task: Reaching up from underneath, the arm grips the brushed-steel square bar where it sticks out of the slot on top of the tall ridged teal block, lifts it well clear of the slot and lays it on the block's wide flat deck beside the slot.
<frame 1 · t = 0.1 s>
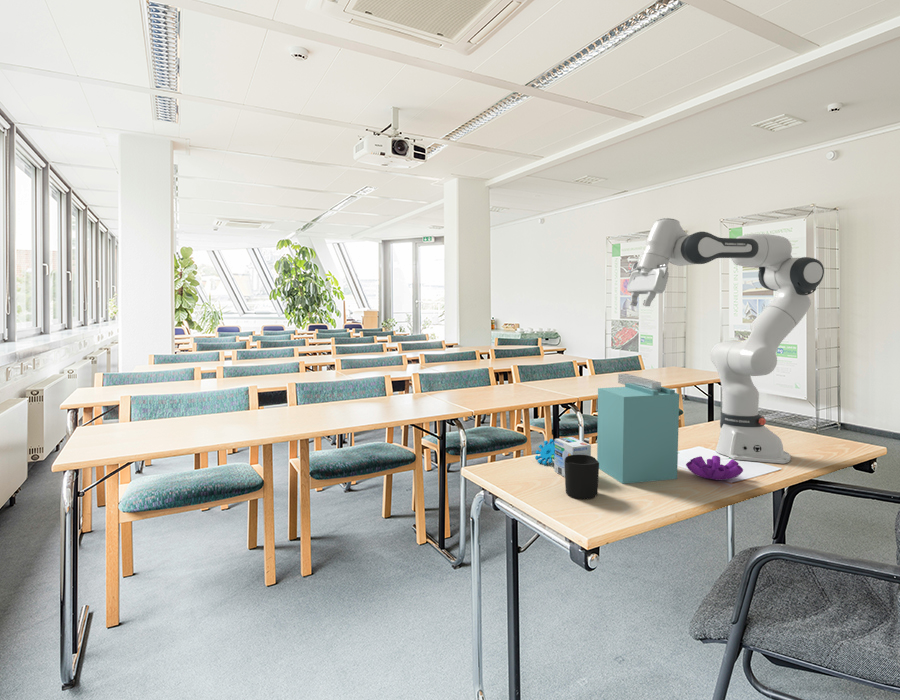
hand: (639, 305, 176), 52 cm above the table, fingers open, 8 cm apart
gear: (549, 463, 177), on the table
pen holder: (581, 494, 148), on the table
pipe connector assembly: (715, 479, 159), on the table
light bulb box: (572, 475, 164), on the table
ridged teal block: (647, 471, 166), on the table
steel bar: (638, 387, 170), point 26 cm above the table, touching ridged teal block
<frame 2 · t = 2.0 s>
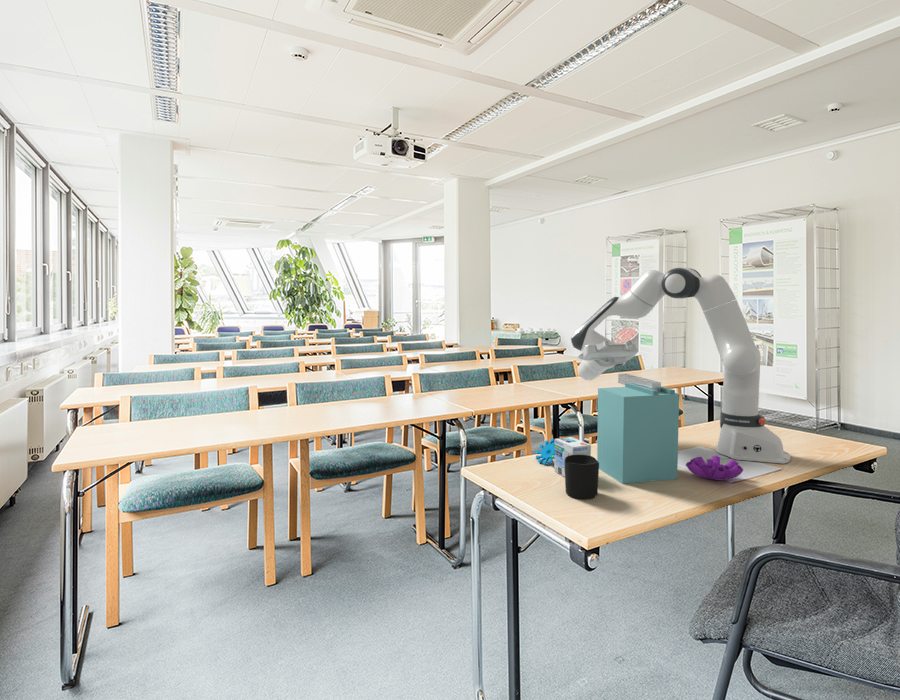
hand: (618, 342, 187), 39 cm above the table, fingers open, 8 cm apart
nothing on the table moved.
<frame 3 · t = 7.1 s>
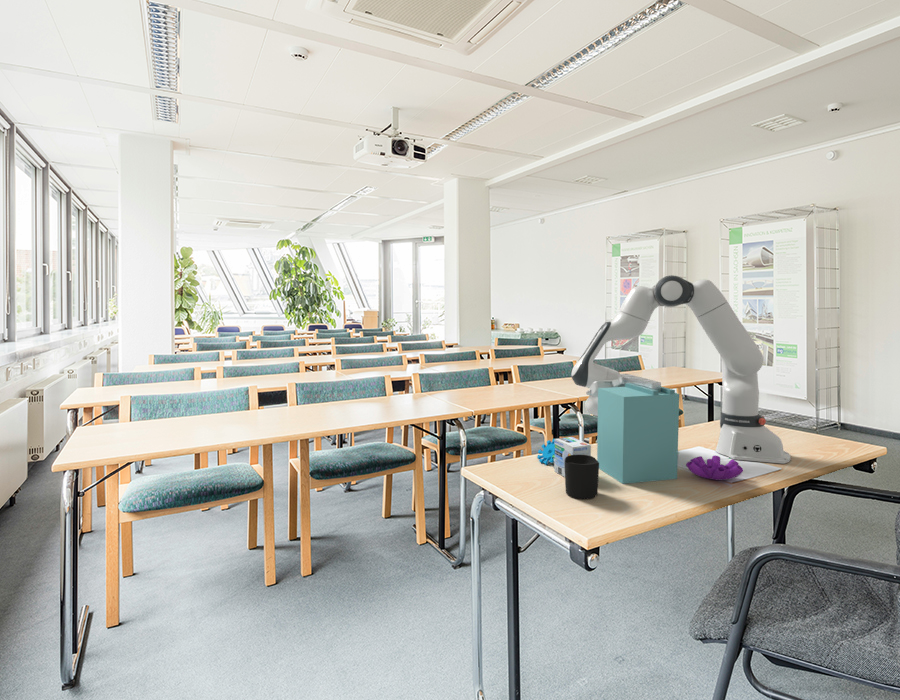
hand: (629, 378, 174), 28 cm above the table, fingers closed on steel bar, 3 cm apart
steel bar: (638, 387, 170), point 26 cm above the table, touching gripper, ridged teal block
everything else where it was.
when the fingers open (30 cm above the table, at t = 11.8 s): steel bar drops 2 cm, resting on ridged teal block.
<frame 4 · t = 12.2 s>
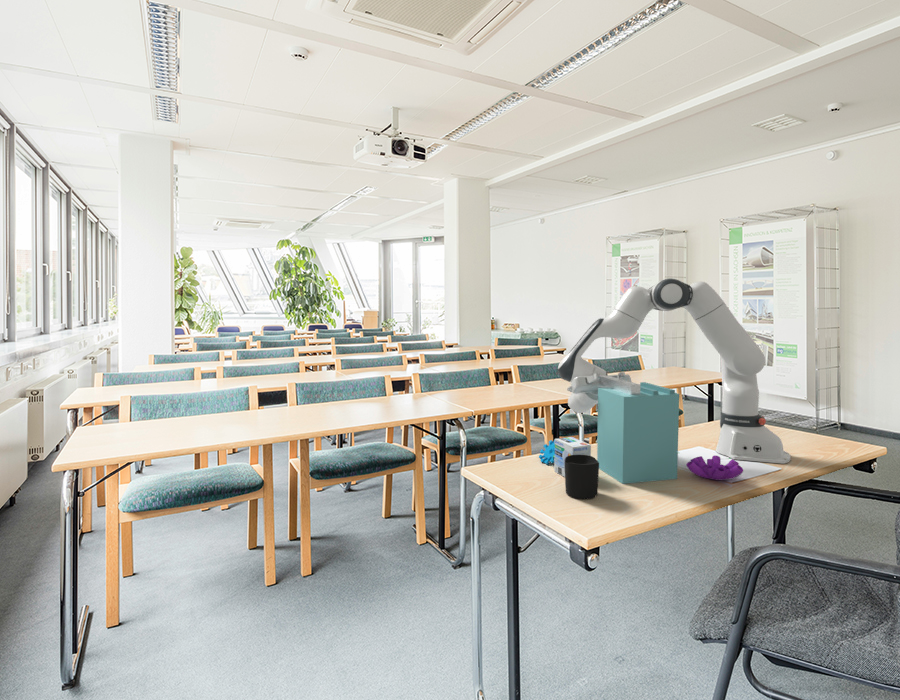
hand: (610, 374, 171), 30 cm above the table, fingers open, 7 cm apart
steel bar: (618, 389, 166), point 26 cm above the table, touching ridged teal block
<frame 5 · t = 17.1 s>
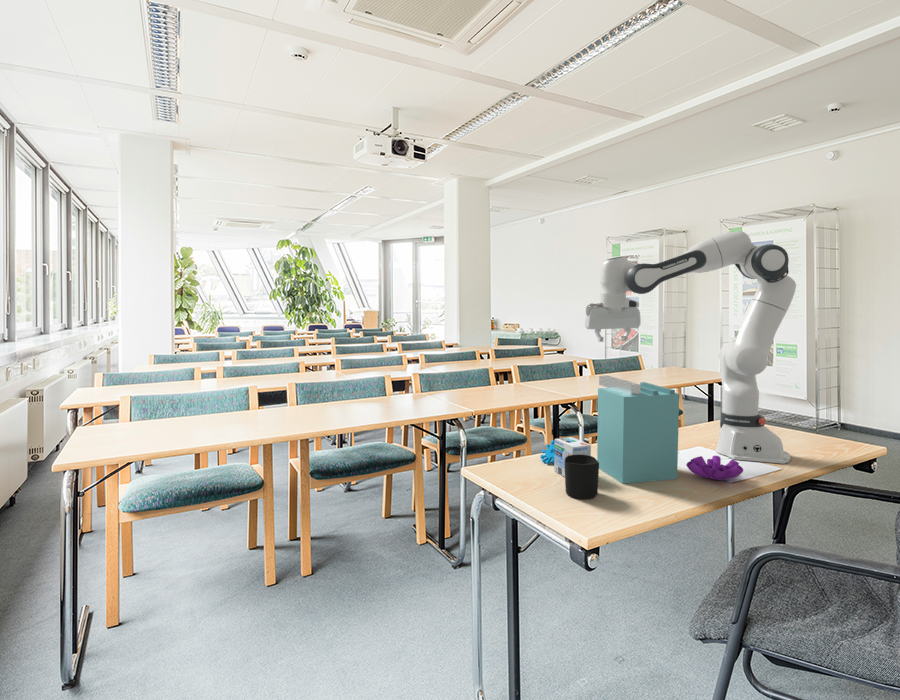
hand: (612, 341, 191), 39 cm above the table, fingers open, 8 cm apart
at the end: steel bar 0.0 cm from the target spot on the ridged teal block, point 26.0 cm above the ridged teal block's base; the gripper is holding nothing; steel bar moved 8.2 cm from its start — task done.
